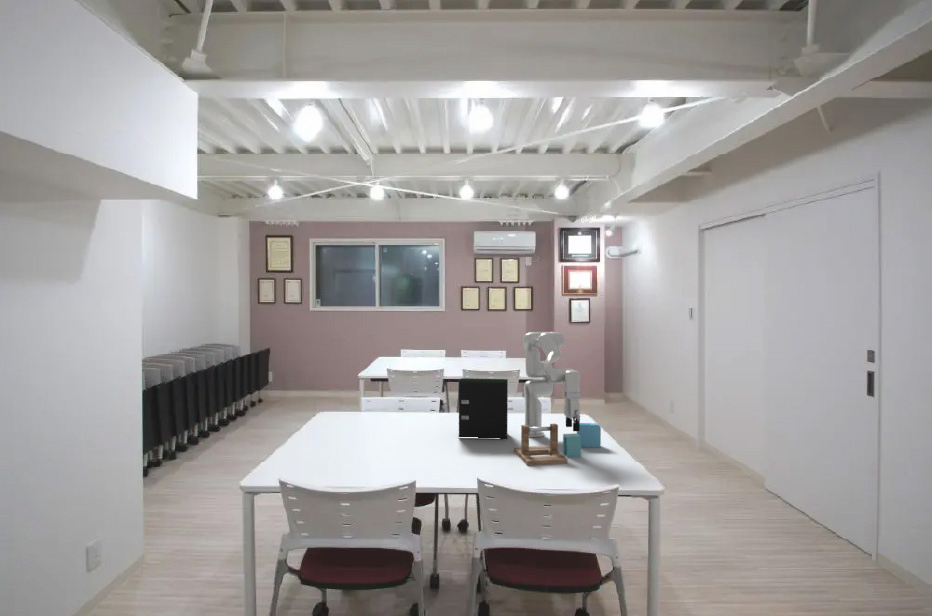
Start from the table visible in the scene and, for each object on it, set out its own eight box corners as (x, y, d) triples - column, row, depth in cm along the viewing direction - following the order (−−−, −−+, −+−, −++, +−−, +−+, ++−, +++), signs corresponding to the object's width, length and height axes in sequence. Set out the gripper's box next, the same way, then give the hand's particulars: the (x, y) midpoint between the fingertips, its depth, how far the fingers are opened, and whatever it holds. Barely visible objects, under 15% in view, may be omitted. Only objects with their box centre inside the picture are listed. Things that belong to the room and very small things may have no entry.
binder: (507, 433, 313) (507, 378, 313) (507, 440, 298) (507, 383, 298) (461, 432, 316) (461, 378, 315) (458, 439, 301) (458, 382, 300)
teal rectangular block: (563, 453, 273) (563, 433, 272) (576, 453, 274) (576, 433, 274) (567, 457, 267) (567, 437, 266) (580, 456, 268) (580, 436, 268)
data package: (599, 445, 289) (599, 423, 288) (600, 447, 284) (600, 425, 284) (576, 444, 289) (576, 422, 289) (577, 447, 285) (578, 424, 285)
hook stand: (513, 451, 277) (513, 420, 277) (550, 449, 281) (550, 418, 280) (527, 465, 254) (527, 431, 253) (567, 463, 257) (567, 430, 257)
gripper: (559, 392, 277) (559, 425, 277) (571, 398, 260) (571, 433, 260) (572, 392, 279) (573, 425, 279) (586, 397, 262) (586, 432, 262)
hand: (572, 428), depth 269 cm, fingers open, 9 cm apart
